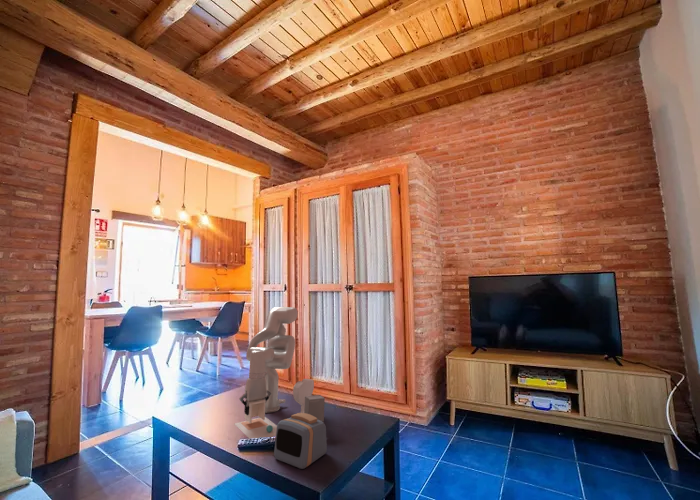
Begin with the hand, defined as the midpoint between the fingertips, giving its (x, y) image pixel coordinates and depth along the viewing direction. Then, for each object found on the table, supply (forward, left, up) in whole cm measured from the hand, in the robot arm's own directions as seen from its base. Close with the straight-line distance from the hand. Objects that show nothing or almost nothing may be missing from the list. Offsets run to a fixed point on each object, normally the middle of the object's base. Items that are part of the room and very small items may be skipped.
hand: (254, 412), depth 162 cm
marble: (-2, +13, -4) cm, 14 cm away
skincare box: (-20, +23, -6) cm, 31 cm away
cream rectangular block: (0, 0, -3) cm, 3 cm away
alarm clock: (-3, +40, -6) cm, 40 cm away
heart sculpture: (-26, +3, -6) cm, 27 cm away
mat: (0, +7, -6) cm, 9 cm away
